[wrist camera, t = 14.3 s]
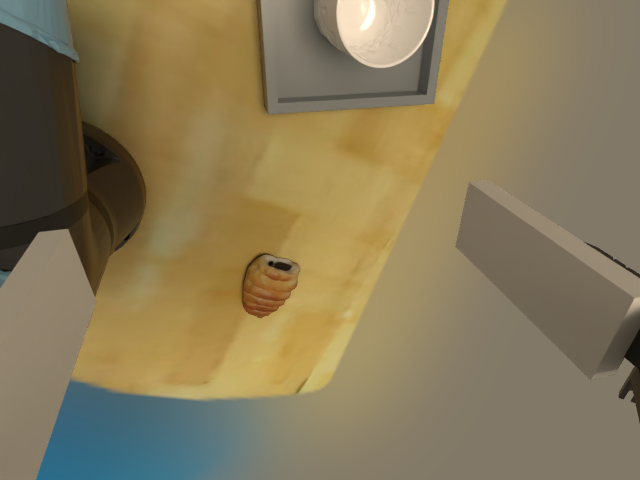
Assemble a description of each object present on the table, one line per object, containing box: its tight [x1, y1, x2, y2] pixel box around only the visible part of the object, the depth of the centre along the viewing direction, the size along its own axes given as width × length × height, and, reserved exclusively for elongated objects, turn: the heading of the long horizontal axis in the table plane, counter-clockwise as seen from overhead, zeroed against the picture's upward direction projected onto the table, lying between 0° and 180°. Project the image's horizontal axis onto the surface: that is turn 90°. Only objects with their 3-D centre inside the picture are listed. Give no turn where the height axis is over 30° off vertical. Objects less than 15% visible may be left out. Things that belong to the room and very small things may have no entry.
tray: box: [257, 0, 449, 114], centre depth 38 cm, size 18×18×3 cm
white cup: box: [314, 0, 435, 68], centre depth 34 cm, size 8×8×10 cm
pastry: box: [243, 255, 300, 318], centre depth 52 cm, size 9×7×4 cm
